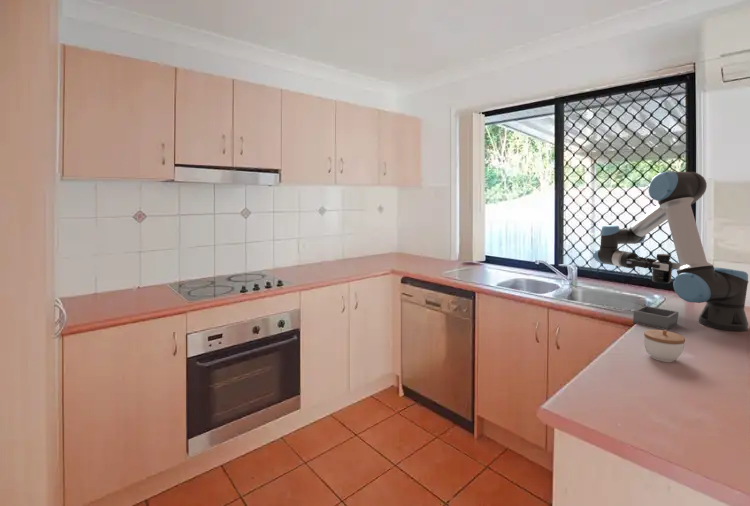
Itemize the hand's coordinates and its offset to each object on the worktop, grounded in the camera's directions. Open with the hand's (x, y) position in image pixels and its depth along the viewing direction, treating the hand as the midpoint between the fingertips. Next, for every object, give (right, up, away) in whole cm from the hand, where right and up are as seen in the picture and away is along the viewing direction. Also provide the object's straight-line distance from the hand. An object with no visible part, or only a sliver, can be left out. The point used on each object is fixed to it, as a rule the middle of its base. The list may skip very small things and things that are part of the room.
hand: (674, 267), depth 172 cm
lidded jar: (-35, -28, -42) cm, 61 cm away
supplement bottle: (-2, -7, +6) cm, 9 cm away
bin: (-12, -23, -6) cm, 26 cm away
